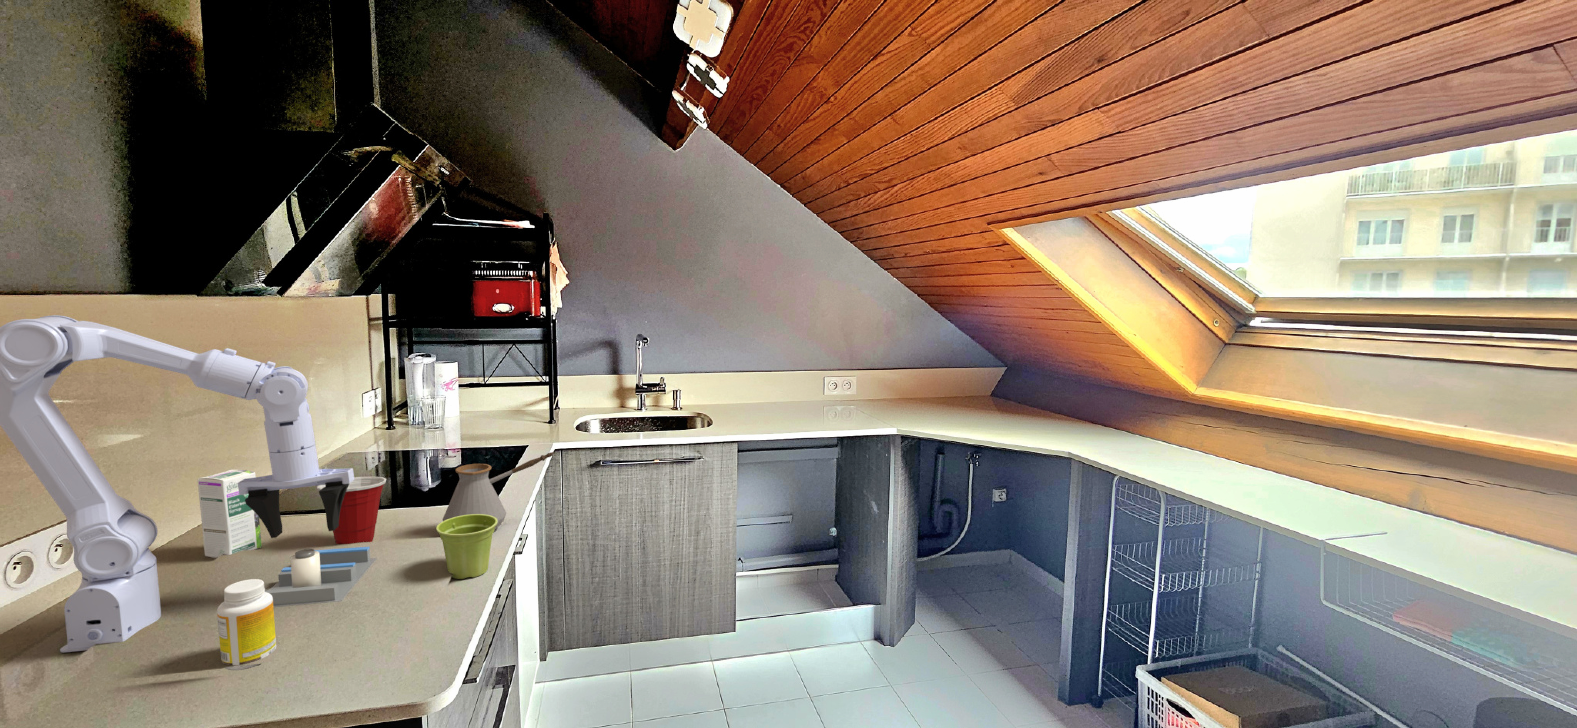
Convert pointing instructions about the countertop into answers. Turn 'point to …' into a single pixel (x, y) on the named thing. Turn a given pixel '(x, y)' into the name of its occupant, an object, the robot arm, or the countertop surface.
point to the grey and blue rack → (325, 578)
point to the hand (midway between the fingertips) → (305, 531)
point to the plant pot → (467, 543)
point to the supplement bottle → (246, 624)
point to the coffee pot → (481, 491)
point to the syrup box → (227, 515)
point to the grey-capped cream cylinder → (305, 568)
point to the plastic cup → (359, 510)
